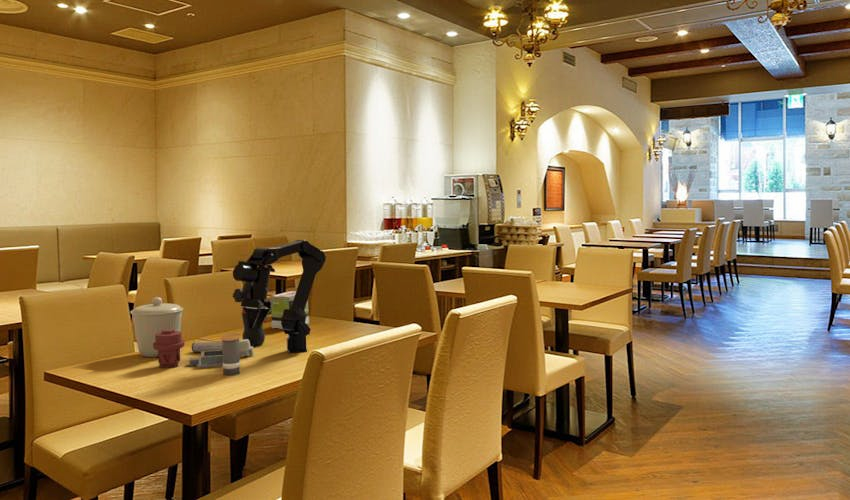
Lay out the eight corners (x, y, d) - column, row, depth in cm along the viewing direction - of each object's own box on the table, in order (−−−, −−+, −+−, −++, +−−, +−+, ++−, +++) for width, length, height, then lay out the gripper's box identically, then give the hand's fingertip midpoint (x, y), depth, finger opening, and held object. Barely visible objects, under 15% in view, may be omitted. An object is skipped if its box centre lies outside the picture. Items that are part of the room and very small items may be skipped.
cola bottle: (238, 346, 256) (235, 268, 254) (251, 341, 264) (249, 266, 261) (256, 347, 253) (254, 269, 250) (269, 343, 260) (267, 267, 258)
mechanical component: (167, 361, 232) (191, 363, 229) (147, 368, 223) (171, 370, 220) (166, 326, 231) (190, 328, 228) (145, 332, 222) (170, 334, 219)
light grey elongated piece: (198, 340, 250) (254, 335, 241) (201, 357, 250) (257, 353, 241) (189, 343, 245) (246, 338, 236) (192, 361, 245) (248, 356, 236)
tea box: (290, 322, 304) (290, 290, 303) (309, 324, 300) (308, 291, 299) (270, 328, 291) (270, 295, 290) (290, 330, 287) (289, 296, 286)
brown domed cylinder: (240, 370, 219) (239, 332, 218) (240, 374, 214) (239, 336, 213) (222, 372, 217) (221, 334, 216) (222, 376, 212) (221, 337, 211)
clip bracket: (230, 358, 236) (230, 349, 235) (231, 365, 226) (230, 355, 226) (190, 361, 232) (190, 351, 231) (189, 368, 222) (188, 358, 222)
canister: (173, 346, 256) (171, 292, 255) (193, 354, 243) (191, 297, 241) (124, 354, 244) (122, 297, 242) (142, 362, 231) (140, 302, 229)
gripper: (245, 282, 241) (240, 325, 239) (228, 279, 222) (222, 326, 221) (275, 285, 240) (270, 328, 239) (261, 283, 222) (255, 330, 220)
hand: (254, 328), depth 230 cm, fingers open, 9 cm apart
